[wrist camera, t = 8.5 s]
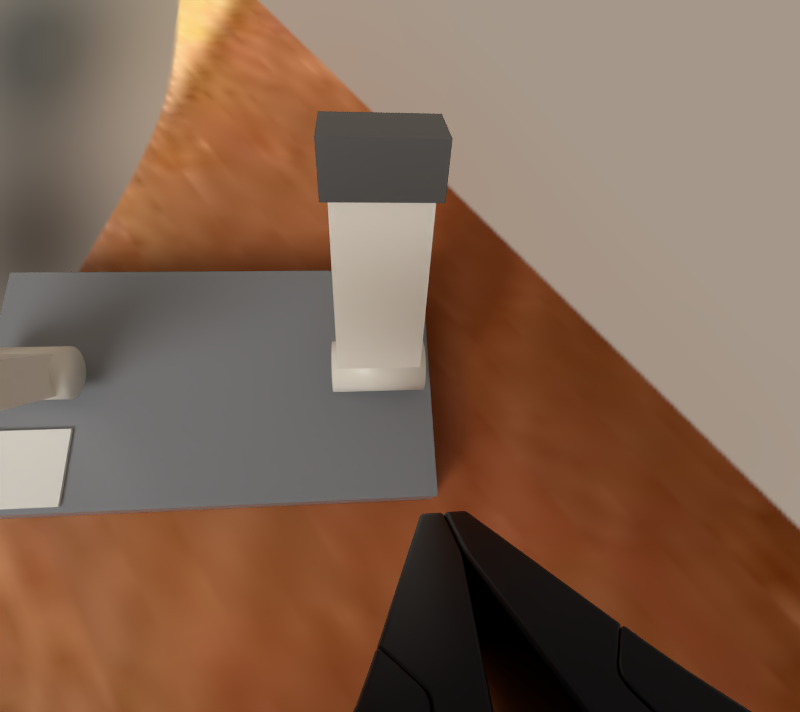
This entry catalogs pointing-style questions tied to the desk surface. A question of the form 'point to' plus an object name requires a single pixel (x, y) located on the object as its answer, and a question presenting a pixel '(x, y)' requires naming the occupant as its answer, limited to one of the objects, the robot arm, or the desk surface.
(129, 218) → the desk surface
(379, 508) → the desk surface
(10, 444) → the switch base
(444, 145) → the right lever
